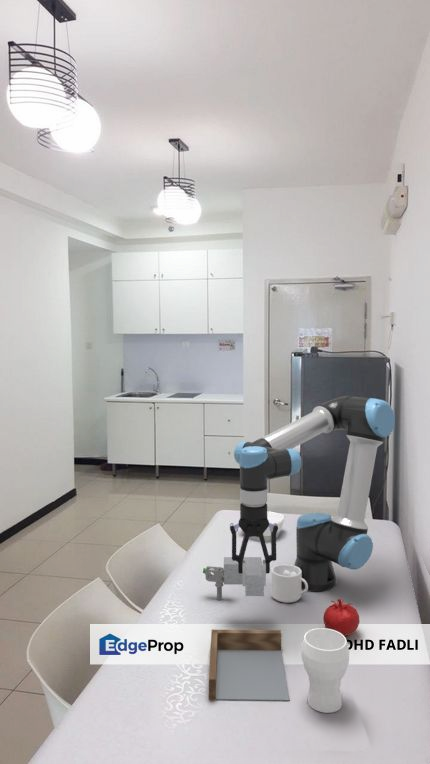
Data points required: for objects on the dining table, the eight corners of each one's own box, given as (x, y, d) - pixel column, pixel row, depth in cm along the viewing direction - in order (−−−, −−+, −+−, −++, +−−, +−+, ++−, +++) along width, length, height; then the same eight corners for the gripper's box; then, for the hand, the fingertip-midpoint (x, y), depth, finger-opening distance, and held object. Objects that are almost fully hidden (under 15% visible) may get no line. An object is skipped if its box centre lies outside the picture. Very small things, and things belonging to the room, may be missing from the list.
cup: (296, 688, 130) (296, 627, 129) (339, 685, 131) (340, 625, 130) (307, 719, 119) (308, 653, 118) (355, 716, 120) (356, 650, 119)
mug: (312, 595, 177) (313, 567, 177) (303, 608, 168) (303, 580, 167) (277, 587, 183) (277, 561, 182) (266, 600, 173) (266, 572, 173)
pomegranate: (364, 638, 152) (365, 605, 151) (330, 641, 150) (331, 608, 149) (350, 620, 161) (350, 589, 161) (318, 623, 160) (318, 592, 159)
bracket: (261, 576, 161) (261, 557, 161) (263, 596, 149) (263, 574, 149) (224, 576, 162) (223, 557, 161) (223, 596, 150) (223, 574, 149)
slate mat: (281, 651, 145) (281, 650, 145) (289, 701, 125) (289, 699, 125) (217, 650, 146) (217, 649, 146) (215, 700, 126) (215, 698, 126)
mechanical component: (234, 602, 172) (234, 572, 171) (202, 599, 174) (202, 569, 173) (235, 598, 175) (235, 568, 174) (204, 595, 177) (204, 565, 176)
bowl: (271, 550, 215) (272, 527, 214) (232, 541, 224) (232, 519, 223) (290, 536, 230) (290, 514, 229) (253, 529, 239) (253, 508, 238)
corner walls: (280, 648, 147) (280, 630, 146) (289, 701, 125) (289, 680, 125) (211, 647, 147) (211, 629, 147) (208, 700, 126) (208, 679, 125)
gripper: (284, 498, 155) (284, 578, 157) (221, 499, 155) (222, 578, 157) (287, 507, 147) (287, 590, 149) (221, 507, 148) (221, 590, 150)
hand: (254, 583), depth 153 cm, fingers closed on bracket, 5 cm apart
